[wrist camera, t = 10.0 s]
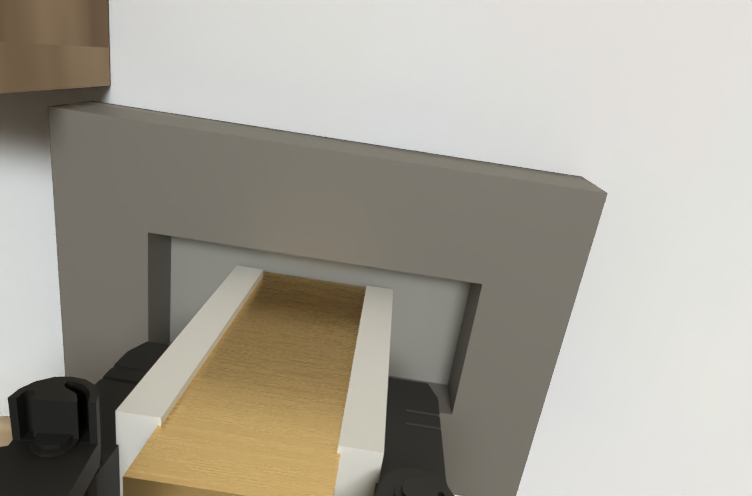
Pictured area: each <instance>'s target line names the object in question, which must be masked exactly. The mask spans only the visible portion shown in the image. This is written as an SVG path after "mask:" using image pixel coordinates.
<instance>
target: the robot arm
mask: <svg viewBox="0 0 752 496" xmlns="http://www.w3.org/2000/svg"><path fill="white" fill-rule="evenodd" d="M263 271H264V269H258V268H251V267H245V266H239V265H237V266H236V267H235V268H234V270H233V271H232V272H231V273H230V274H229V276H228V277H227V278H226V279H225V280H224V282H223V283H222V284H221V285H220V286H219V288H218V289H217V290H216V291H215V292H214V294H213V295H212V296H211V297H210V298H209V299H208V301H207V302H206V303H205V304H204V305H203V307H202V308H201V309H200V310H199V311H198V313H197V314H196V315H195V316H194V317H193V319H192V320H191V321H190V322H189V323H188V325H187V326H186V327H185V328H184V329H183V331H182V332H181V333H180V334H179V335H178V337H177V338H176V339H175V340H174V341H173V343H172V344H171V345H167V344H161V343H154V342H148V341H147V342H145V343H143V344H141V345H139V346H137V347H135V348H133V349H131V350H129V351H127V352H126V353H125V354H124V355H123V356H122V357H121V358H120V359H119V360H118V361H117V362H116V363H115V364H114V367H113V368H111V369H110V370H109V371H108V372H107V373H106V374H105V375H104V376H103V378H102V380H101V379H100V380H99V381H98V382H97V383H96V384H95V385H94V384H93V383H91V382H89V381H88V380H86V379H82V378H76V377H71V376H70V377H52V378H48V379H44V380H39V381H36V382H33V383H31V384H29V385H26V386H24V387H22V388H20V389H18V390H17V391H16V392H15V393H13V394H12V395H11V396H9V397H8V403H9V412H10V421H11V430H12V439H13V440H12V441H11V442H10V444H9V445H8V446H2V447H0V496H123V475H124V474H125V472H126V471H127V469H128V468H129V466H130V465H131V464H132V462H133V461H134V459H135V458H136V456H137V455H138V454H139V452H140V451H141V449H142V448H143V446H144V445H145V443H146V442H147V441H148V439H149V438H150V436H151V435H152V433H153V432H154V431H155V429H156V428H157V426H158V425H160V426H161V425H162V424H163V422H164V421H165V419H166V418H167V416H168V415H169V413H170V412H171V411H172V409H173V408H174V406H175V405H176V403H177V402H178V400H179V399H180V397H181V396H182V394H183V393H184V392H185V390H186V389H187V387H188V386H189V384H190V383H191V381H192V380H193V378H194V377H195V375H196V374H197V373H198V371H199V370H200V368H201V367H202V365H203V364H204V362H205V361H206V359H207V358H208V356H209V355H210V354H211V352H212V351H213V349H214V348H215V346H216V345H217V343H218V342H219V340H220V339H221V337H222V336H223V335H224V333H225V332H226V330H227V329H228V327H229V326H230V324H231V323H232V321H233V320H234V318H235V317H236V315H237V314H238V313H239V311H240V310H241V308H242V307H243V305H244V304H245V302H246V301H247V299H248V298H249V296H250V295H251V294H252V292H253V291H254V289H255V288H256V286H257V285H258V283H259V282H260V280H261V279H262V277H263ZM392 301H393V289H387V288H380V287H374V286H368V285H367V286H366V291H365V297H364V303H363V308H362V314H361V320H360V325H359V331H358V336H357V342H356V348H355V353H354V359H353V365H352V370H351V376H350V381H349V387H348V393H347V398H346V404H345V410H344V415H343V421H342V427H341V432H340V438H339V443H338V450H337V453H340V460H339V466H338V473H337V479H336V486H335V493H334V496H454V495H453V493H452V492H451V490H450V489H449V487H448V486H447V482H446V475H445V464H444V454H443V444H442V433H441V423H440V417H439V415H440V413H439V402H438V398H437V396H436V395H435V393H434V392H433V390H432V389H431V387H430V386H429V384H428V383H422V382H415V381H409V380H403V379H396V378H390V377H388V372H389V354H390V337H391V319H392Z"/></svg>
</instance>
